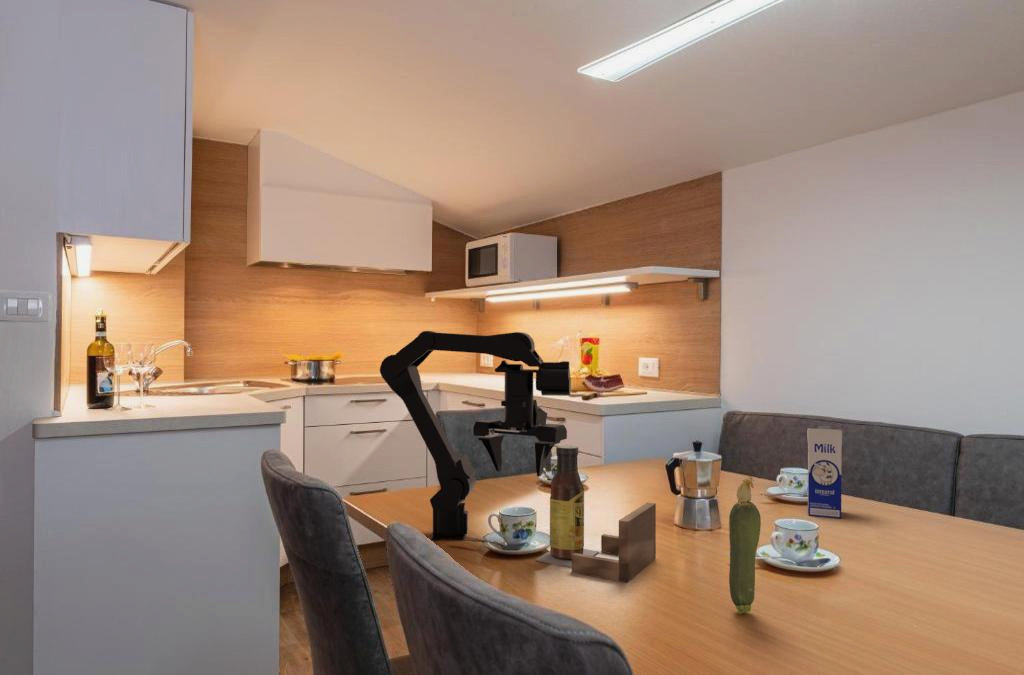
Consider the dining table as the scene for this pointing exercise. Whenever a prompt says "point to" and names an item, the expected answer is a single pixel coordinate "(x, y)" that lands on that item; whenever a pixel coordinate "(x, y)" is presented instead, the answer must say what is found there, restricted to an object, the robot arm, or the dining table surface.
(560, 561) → the mat
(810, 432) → the milk carton
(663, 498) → the dining table surface
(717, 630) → the dining table surface
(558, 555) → the sauce bottle
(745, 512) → the vegetable
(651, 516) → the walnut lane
